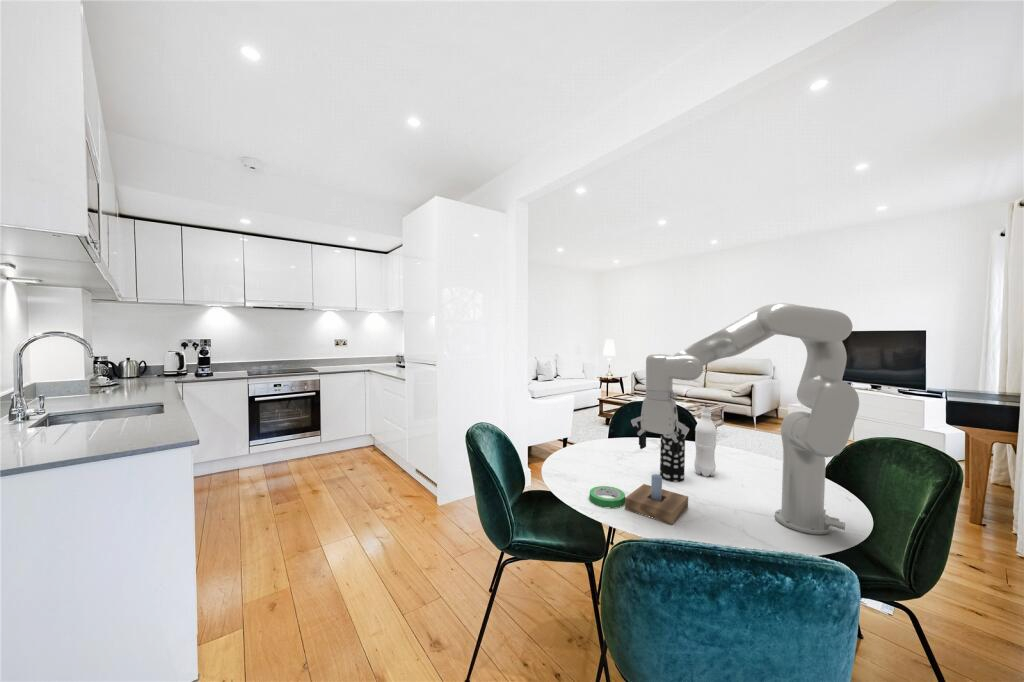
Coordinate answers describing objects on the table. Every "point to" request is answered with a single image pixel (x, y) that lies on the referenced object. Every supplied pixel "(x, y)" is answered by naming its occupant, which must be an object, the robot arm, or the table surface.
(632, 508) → the block
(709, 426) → the water bottle
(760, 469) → the table surface
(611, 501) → the tape roll
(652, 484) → the peg
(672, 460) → the white-spotted black cylinder
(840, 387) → the robot arm
